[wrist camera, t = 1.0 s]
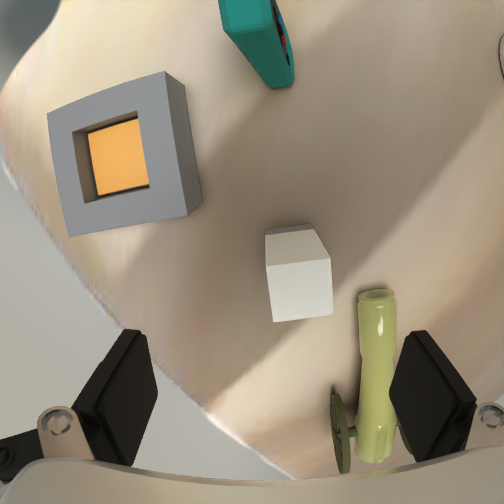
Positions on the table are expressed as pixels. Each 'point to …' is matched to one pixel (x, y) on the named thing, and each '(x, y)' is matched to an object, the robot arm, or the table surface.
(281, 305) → the plug
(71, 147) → the socket
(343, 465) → the cannon
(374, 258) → the table surface
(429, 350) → the robot arm
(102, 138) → the orange square tile
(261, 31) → the digital multimeter
